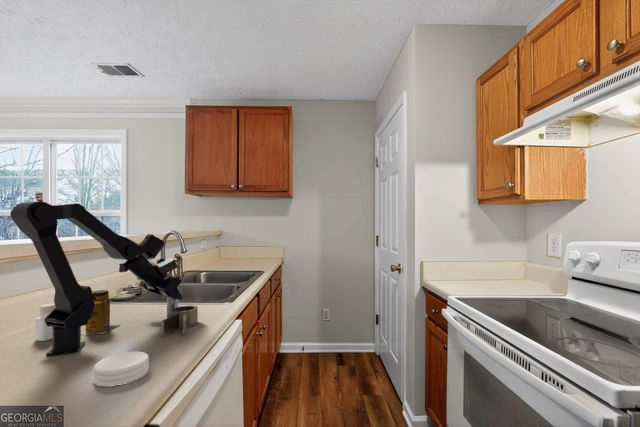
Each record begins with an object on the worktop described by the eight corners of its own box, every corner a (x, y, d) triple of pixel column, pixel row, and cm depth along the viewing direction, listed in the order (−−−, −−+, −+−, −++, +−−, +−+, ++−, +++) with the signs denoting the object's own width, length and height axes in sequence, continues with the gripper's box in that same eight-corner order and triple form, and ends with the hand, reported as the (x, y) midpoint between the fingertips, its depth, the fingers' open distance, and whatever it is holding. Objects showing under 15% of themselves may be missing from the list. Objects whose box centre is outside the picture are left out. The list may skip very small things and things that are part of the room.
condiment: (77, 335, 91) (78, 294, 91) (97, 325, 99) (98, 288, 100) (103, 334, 91) (103, 293, 92) (120, 325, 100) (121, 287, 100)
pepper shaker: (42, 342, 85) (43, 307, 86) (34, 340, 87) (34, 306, 87) (59, 337, 89) (60, 304, 89) (50, 335, 90) (51, 303, 91)
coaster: (80, 389, 61) (80, 371, 61) (114, 366, 71) (114, 350, 71) (131, 388, 61) (131, 370, 61) (157, 365, 71) (157, 350, 71)
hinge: (198, 333, 91) (198, 316, 91) (160, 339, 87) (160, 321, 87) (197, 319, 105) (197, 304, 105) (164, 323, 101) (164, 307, 101)
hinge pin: (178, 318, 107) (178, 289, 107) (166, 319, 105) (166, 290, 106) (178, 315, 110) (178, 287, 110) (167, 316, 109) (167, 288, 109)
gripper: (176, 252, 100) (206, 281, 108) (149, 250, 111) (178, 276, 119) (150, 280, 93) (184, 309, 102) (124, 274, 104) (157, 301, 113)
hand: (176, 297), depth 109 cm, fingers open, 6 cm apart
